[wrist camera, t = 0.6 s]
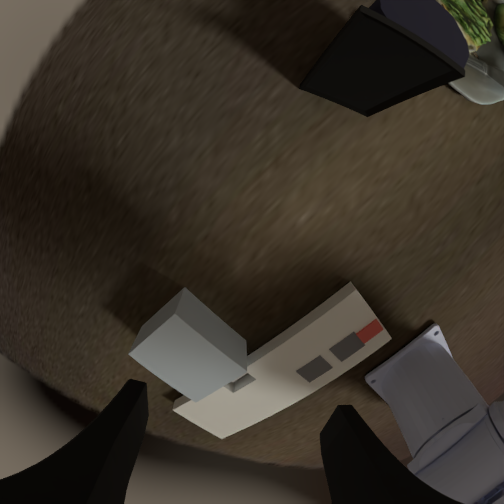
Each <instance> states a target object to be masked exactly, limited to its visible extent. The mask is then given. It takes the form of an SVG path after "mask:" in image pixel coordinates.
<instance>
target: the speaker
mask: <svg viewBox="0 0 504 504" xmlns="http://www.w3.org/2000/svg"><path fill="white" fill-rule="evenodd" d="M469 56H470V55H469V49H468V43H467V41H466V39H465V37H464V35H463V33H462V32H461V30H460V28H459V26H458V24H457V22H456V21H455V19H454V17H453V16H452V15H451V14H450V13H449V12H448V11H447V10H446V9H445V8H444V7H443V6H442V5H440V4H439V3H438V2H437V1H436V0H376V1H375V2H374V3H373V4H372V5H371V6H370V7H369V8H367V7H365V6H363V5H361V6H360V7H359V8H358V10H357V11H356V12H355V13H354V14H353V16H352V17H351V18H350V19H349V21H348V22H347V23H346V24H345V26H344V27H343V28H342V30H341V31H340V32H339V33H338V35H337V36H336V37H335V38H334V40H333V41H332V42H331V44H330V45H329V46H328V48H327V49H326V50H325V52H324V53H323V54H322V56H321V57H320V58H319V60H318V61H317V62H316V64H315V65H314V66H313V68H312V69H311V70H310V72H309V73H308V74H307V76H306V77H305V79H304V80H303V81H302V83H301V84H300V88H299V89H301V90H304V91H307V92H310V93H312V94H315V95H317V96H320V97H323V98H325V99H328V100H330V101H333V102H335V103H337V104H340V105H342V106H344V107H347V108H349V109H351V110H354V111H356V112H358V113H360V114H362V115H364V116H367V117H369V116H371V115H373V114H375V113H378V112H380V111H382V110H384V109H387V108H389V107H391V106H393V105H396V104H398V103H400V102H403V101H405V100H407V99H410V98H412V97H414V96H417V95H419V94H422V93H424V92H427V91H429V90H432V89H434V88H437V87H439V86H442V85H444V84H447V83H450V82H452V81H455V80H458V79H461V78H463V77H465V69H464V68H465V65H466V63H467V60H468V58H469Z"/></svg>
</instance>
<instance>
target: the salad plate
mask: <svg viewBox="0 0 504 504" xmlns="http://www.w3.org/2000/svg"><path fill="white" fill-rule="evenodd" d="M436 1H437V2H438V3H439V4H440V5H442V6H443V7H444V8H445V9H446V10H447V11H448V12H449V13H450V14H451V15H452V16H453V17H454V19H455V21H456V22H457V24H458V26H459V28H460V30H461V32H462V33H463V35H464V37H465V39H466V41H467V43H468V49H469V55H470V56H469V58H468V60H467V63H466V65H465V68H464V69H465V77H463V78H461V79H458V80H455V81H452V82H450V83H448V84H449V85H450V86H451V87H453V88H454V89H455V90H456V91H458V92H459V93H460V94H462V95H463V96H464V97H465V98H466V99H467V100H468V101H471V102H475V103H478V104H493V103H496V102H499V101H502V100H504V0H436ZM473 52H476V53H477V54H478V57H479V59H478V58H476V57H475V56H474V55H473Z"/></svg>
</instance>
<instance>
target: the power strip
mask: <svg viewBox="0 0 504 504" xmlns="http://www.w3.org/2000/svg"><path fill="white" fill-rule="evenodd" d="M391 339H392V338H391V336H390V335H389V333H388V332H387V330H386V329H385V328H384V326H383V325H382V323H381V322H380V321H379V319H378V318H377V316H376V315H375V314H374V312H373V311H372V310H371V308H370V307H369V305H368V304H367V303H366V301H365V300H364V299H363V297H362V296H361V295H360V293H359V292H358V291H357V289H356V288H355V287H354V285H353V284H352V283H351V281H350V282H349V283H348V284H346V285H345V286H344V287H343V288H341V289H340V290H339V291H337V292H336V293H335V294H334V295H332V296H331V297H330V298H328V299H327V300H326V301H324V302H323V303H322V304H320V305H319V306H318V307H316V308H315V309H314V310H312V311H311V312H310V313H308V314H307V315H306V316H304V317H303V318H302V319H300V320H299V321H297V322H296V323H295V324H293V325H292V326H290V327H289V328H288V329H286V330H285V331H283V332H282V333H280V334H279V335H278V336H276V337H275V338H273V339H272V340H270V341H269V342H267V343H266V344H264V345H263V346H262V347H260V348H259V349H257V350H256V351H254V352H253V353H251V354H250V355H248V356H247V373H248V374H247V375H245V376H244V377H242V378H240V379H239V380H237V381H235V382H234V383H233V382H232V381H231V382H230V383H228V384H226V385H225V386H223V387H222V388H220V389H218V390H217V391H215V392H213V393H212V394H210V395H208V396H207V397H205V398H203V399H201V400H200V401H198V402H194V401H192V400H191V399H189V398H188V397H186V396H185V395H183V396H181V397H180V398H178V399H176V400H175V402H174V406H173V411H175V412H177V413H178V414H180V415H181V416H183V417H185V418H186V419H188V420H189V421H191V422H193V423H194V424H196V425H198V426H200V427H201V428H203V429H205V430H207V431H208V432H210V433H212V434H214V435H216V436H217V437H219V438H221V439H222V438H225V437H227V436H229V435H232V434H234V433H236V432H238V431H240V430H243V429H245V428H247V427H249V426H251V425H253V424H255V423H257V422H259V421H261V420H263V419H265V418H267V417H269V416H271V415H273V414H275V413H277V412H279V411H281V410H283V409H285V408H286V407H288V406H290V405H292V404H294V403H295V402H297V401H299V400H301V399H303V398H304V397H306V396H308V395H309V394H311V393H313V392H314V391H316V390H318V389H319V388H321V387H323V386H324V385H326V384H328V383H329V382H331V381H332V380H334V379H336V378H337V377H339V376H340V375H342V374H343V373H345V372H346V371H348V370H349V369H351V368H352V367H354V366H355V365H357V364H358V363H360V362H361V361H362V360H364V359H365V358H367V357H368V356H369V355H371V354H372V353H374V352H375V351H376V350H378V349H379V348H380V347H382V346H383V345H384V344H386V343H387V342H388V341H390V340H391Z"/></svg>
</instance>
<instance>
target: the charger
mask: <svg viewBox="0 0 504 504" xmlns="http://www.w3.org/2000/svg"><path fill="white" fill-rule="evenodd" d="M129 355H130V356H131V357H132V358H134V359H135V360H136V361H137V362H139V363H140V364H141V365H143V366H144V367H145V368H147V369H148V370H149V371H151V372H152V373H153V374H155V375H156V376H157V377H159V378H160V379H162V380H163V381H164V382H166V383H167V384H169V385H170V386H171V387H173V388H174V389H176V390H177V391H179V392H180V393H182V394H183V395H185V396H186V397H188V398H189V399H191V400H192V401H194V402H198V401H200V400H201V399H203V398H205V397H207V396H208V395H210V394H212V393H213V392H215V391H217V390H218V389H220V388H222V387H223V386H225V385H226V384H228V383H230V382H231V381H232V382H234V381H236V380H238V379H239V378H241V377H242V376H244V375H245V374H247V344H246V340H245V339H244V338H243V337H241V336H240V335H239V334H238V333H237V332H236V331H234V330H233V329H232V328H231V327H230V326H228V325H227V324H226V323H225V322H224V321H223V320H221V319H220V318H219V317H218V316H217V315H216V314H215V313H213V312H212V311H211V310H210V309H209V308H208V307H207V306H205V305H204V304H203V303H202V302H201V301H200V300H199V299H198V298H196V297H195V296H194V295H193V294H192V293H191V292H190V291H189V290H188V289H187V288H185V287H184V288H183V289H182V290H181V291H180V292H179V293H178V294H176V295H175V296H174V297H173V298H172V299H171V300H170V301H169V302H168V303H167V304H165V305H164V306H163V307H162V308H161V309H160V310H159V311H158V312H157V313H156V314H155V315H153V316H152V317H151V318H150V319H149V320H148V321H147V322H146V323H145V324H144V325H143V326H142V327H141V329H140V331H139V333H138V335H137V337H136V339H135V341H134V343H133V345H132V347H131V349H130V352H129Z"/></svg>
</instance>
